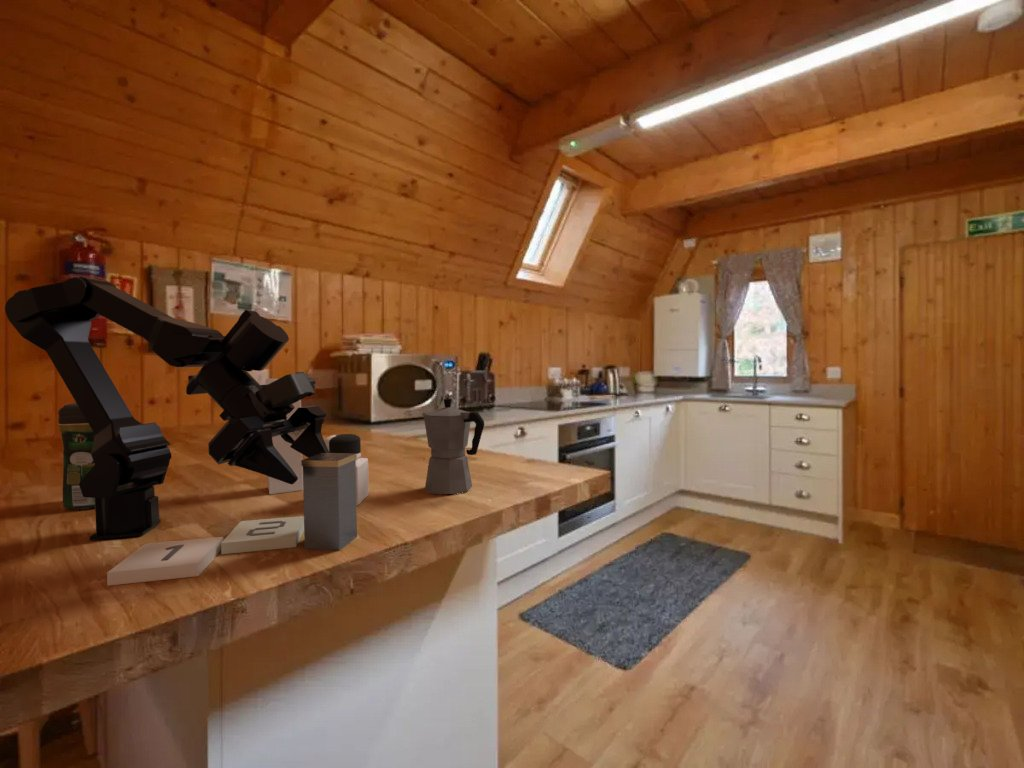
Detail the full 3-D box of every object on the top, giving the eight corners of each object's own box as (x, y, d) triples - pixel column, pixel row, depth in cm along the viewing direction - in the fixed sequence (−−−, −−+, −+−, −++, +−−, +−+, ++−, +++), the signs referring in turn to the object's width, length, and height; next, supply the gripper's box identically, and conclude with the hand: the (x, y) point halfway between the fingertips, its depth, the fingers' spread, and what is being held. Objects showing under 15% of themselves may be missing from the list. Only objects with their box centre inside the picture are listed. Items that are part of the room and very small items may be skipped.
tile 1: (107, 585, 54) (106, 571, 54) (146, 554, 62) (145, 542, 62) (198, 576, 56) (197, 562, 56) (223, 547, 65) (222, 536, 65)
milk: (267, 488, 96) (264, 378, 95) (300, 483, 99) (297, 377, 98) (269, 494, 91) (265, 379, 90) (304, 490, 94) (300, 378, 93)
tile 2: (221, 554, 62) (221, 542, 62) (241, 531, 71) (241, 520, 71) (296, 547, 65) (295, 535, 65) (306, 525, 73) (306, 515, 73)
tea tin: (303, 548, 64) (301, 460, 64) (324, 535, 69) (322, 452, 69) (339, 550, 63) (338, 461, 63) (358, 536, 69) (356, 453, 68)
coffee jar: (90, 496, 90) (85, 398, 90) (137, 494, 92) (133, 397, 91) (51, 512, 81) (46, 402, 80) (105, 509, 82) (100, 401, 82)
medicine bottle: (369, 495, 90) (368, 431, 90) (358, 506, 83) (357, 437, 83) (331, 495, 90) (329, 432, 90) (316, 507, 83) (315, 438, 83)
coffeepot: (407, 489, 94) (406, 398, 93) (440, 479, 102) (439, 395, 101) (467, 502, 86) (466, 401, 85) (499, 490, 93) (498, 398, 92)
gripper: (225, 351, 57) (314, 444, 56) (312, 354, 76) (380, 424, 75) (170, 417, 59) (255, 509, 58) (268, 404, 77) (334, 473, 76)
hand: (314, 473), depth 66 cm, fingers open, 9 cm apart
